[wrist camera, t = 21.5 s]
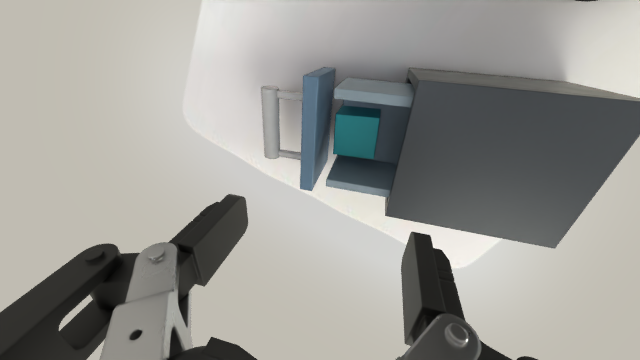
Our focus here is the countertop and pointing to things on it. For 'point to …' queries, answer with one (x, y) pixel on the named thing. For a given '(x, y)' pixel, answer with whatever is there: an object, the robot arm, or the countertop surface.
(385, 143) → the blue drawer
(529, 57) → the countertop surface
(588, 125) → the dark grey drawer cabinet
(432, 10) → the countertop surface
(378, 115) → the teal cube
